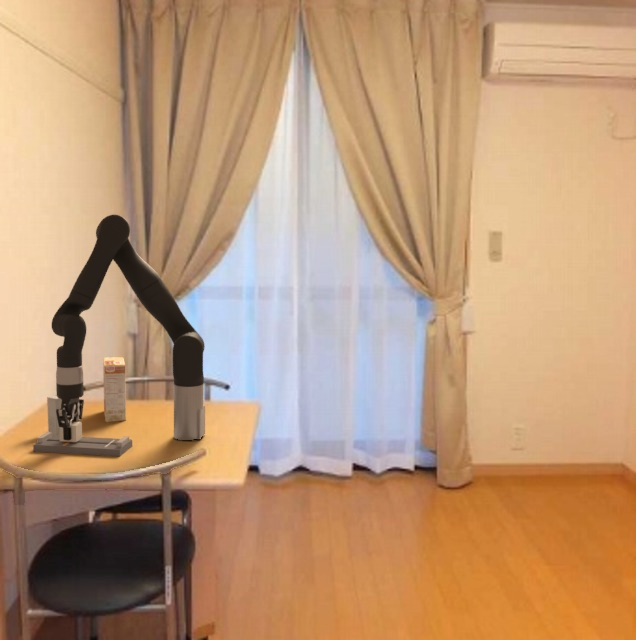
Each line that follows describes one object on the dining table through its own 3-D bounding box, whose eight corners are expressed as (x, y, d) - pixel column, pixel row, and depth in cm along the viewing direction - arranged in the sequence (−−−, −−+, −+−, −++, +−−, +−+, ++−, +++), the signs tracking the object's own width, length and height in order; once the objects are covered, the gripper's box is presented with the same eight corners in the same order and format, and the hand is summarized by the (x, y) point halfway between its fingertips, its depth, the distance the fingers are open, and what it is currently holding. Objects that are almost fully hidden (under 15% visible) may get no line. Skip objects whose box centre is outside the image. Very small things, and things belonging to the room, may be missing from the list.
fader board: (132, 445, 213) (132, 434, 213) (120, 456, 203) (119, 444, 203) (49, 441, 215) (49, 430, 215) (33, 451, 206) (33, 439, 205)
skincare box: (63, 429, 228) (62, 393, 227) (72, 431, 226) (71, 395, 224) (47, 434, 223) (46, 396, 221) (56, 436, 221) (55, 398, 219)
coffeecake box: (103, 410, 252) (103, 357, 250) (124, 409, 254) (123, 356, 252) (104, 422, 238) (103, 365, 236) (126, 420, 240) (125, 364, 238)
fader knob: (82, 438, 211) (81, 421, 210) (76, 442, 207) (75, 425, 206) (65, 437, 212) (65, 420, 211) (59, 441, 208) (59, 424, 207)
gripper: (71, 386, 200) (72, 445, 202) (92, 376, 214) (93, 431, 216) (46, 385, 200) (47, 444, 203) (68, 375, 214) (69, 430, 217)
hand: (71, 437), depth 209 cm, fingers closed on fader knob, 4 cm apart
